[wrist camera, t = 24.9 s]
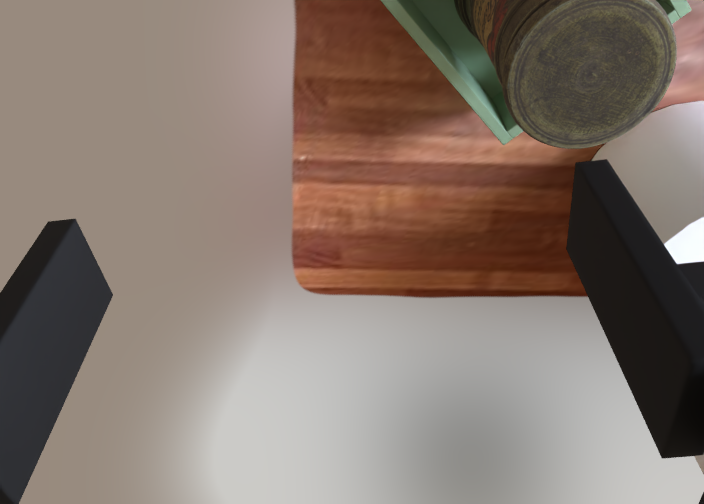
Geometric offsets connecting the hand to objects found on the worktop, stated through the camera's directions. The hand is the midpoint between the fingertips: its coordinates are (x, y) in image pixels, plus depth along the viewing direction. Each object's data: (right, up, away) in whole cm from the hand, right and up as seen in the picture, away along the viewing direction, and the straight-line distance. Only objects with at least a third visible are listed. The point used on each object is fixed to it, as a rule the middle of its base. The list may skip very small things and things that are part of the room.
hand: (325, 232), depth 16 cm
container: (+12, +19, +28) cm, 36 cm away
